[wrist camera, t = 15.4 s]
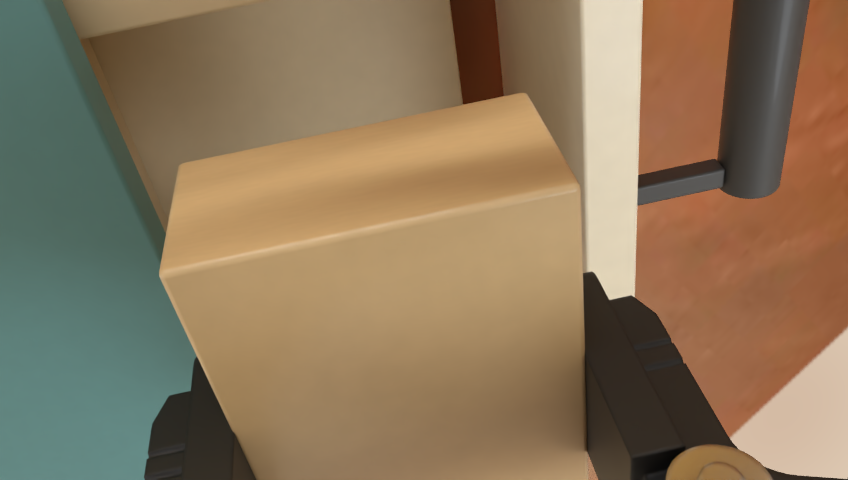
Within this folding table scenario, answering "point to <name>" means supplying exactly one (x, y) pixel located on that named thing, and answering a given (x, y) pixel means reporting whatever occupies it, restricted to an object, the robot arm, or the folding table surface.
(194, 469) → the robot arm
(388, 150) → the tan rectangular block
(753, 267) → the folding table surface
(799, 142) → the folding table surface
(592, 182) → the drawer
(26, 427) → the cabinet
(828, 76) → the folding table surface
